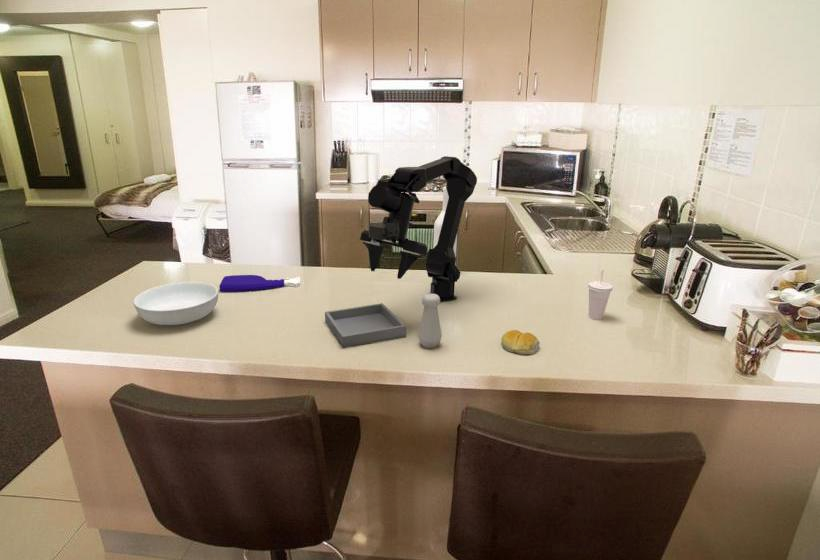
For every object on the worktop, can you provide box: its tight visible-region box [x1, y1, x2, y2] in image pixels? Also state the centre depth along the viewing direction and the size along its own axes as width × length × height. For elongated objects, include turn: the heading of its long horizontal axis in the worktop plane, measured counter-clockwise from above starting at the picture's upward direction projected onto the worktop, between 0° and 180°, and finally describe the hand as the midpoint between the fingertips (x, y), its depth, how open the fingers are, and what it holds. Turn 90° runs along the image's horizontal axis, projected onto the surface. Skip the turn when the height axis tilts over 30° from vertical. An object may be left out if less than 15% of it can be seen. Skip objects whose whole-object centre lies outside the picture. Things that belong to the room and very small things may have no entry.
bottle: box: [432, 186, 458, 267], centre depth 171 cm, size 8×8×30 cm
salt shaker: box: [417, 293, 443, 349], centre depth 120 cm, size 6×6×13 cm
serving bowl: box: [132, 281, 219, 326], centre depth 134 cm, size 21×21×7 cm
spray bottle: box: [219, 274, 301, 293], centre depth 160 cm, size 3×11×25 cm
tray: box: [324, 302, 407, 349], centre depth 129 cm, size 17×17×3 cm
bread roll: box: [500, 329, 541, 356], centre depth 121 cm, size 8×9×4 cm
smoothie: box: [587, 268, 613, 321], centre depth 137 cm, size 6×6×14 cm
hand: (385, 274), depth 128 cm, fingers open, 9 cm apart
